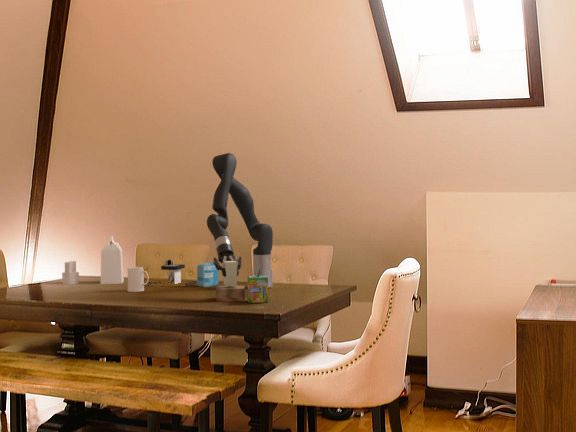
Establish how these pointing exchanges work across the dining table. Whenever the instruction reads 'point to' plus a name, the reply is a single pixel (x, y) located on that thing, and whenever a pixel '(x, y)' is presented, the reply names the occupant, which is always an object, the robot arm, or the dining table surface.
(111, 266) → the milk
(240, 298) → the walnut block
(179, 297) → the dining table surface
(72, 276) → the cylinder with rectangular tab
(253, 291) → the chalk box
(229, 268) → the tea tin
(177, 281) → the black-topped pedestal
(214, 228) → the robot arm
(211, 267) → the data package
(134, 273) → the mug
